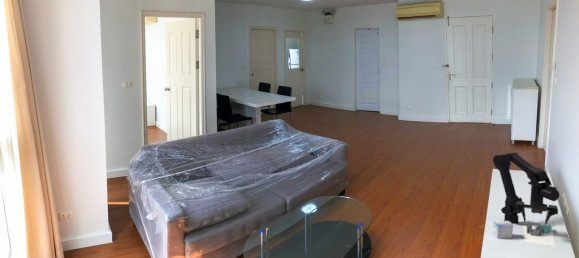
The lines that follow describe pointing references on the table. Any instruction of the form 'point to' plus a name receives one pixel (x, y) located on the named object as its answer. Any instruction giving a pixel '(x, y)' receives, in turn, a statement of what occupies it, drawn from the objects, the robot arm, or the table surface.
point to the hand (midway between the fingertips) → (535, 223)
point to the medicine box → (503, 229)
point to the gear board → (541, 239)
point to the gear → (534, 231)
